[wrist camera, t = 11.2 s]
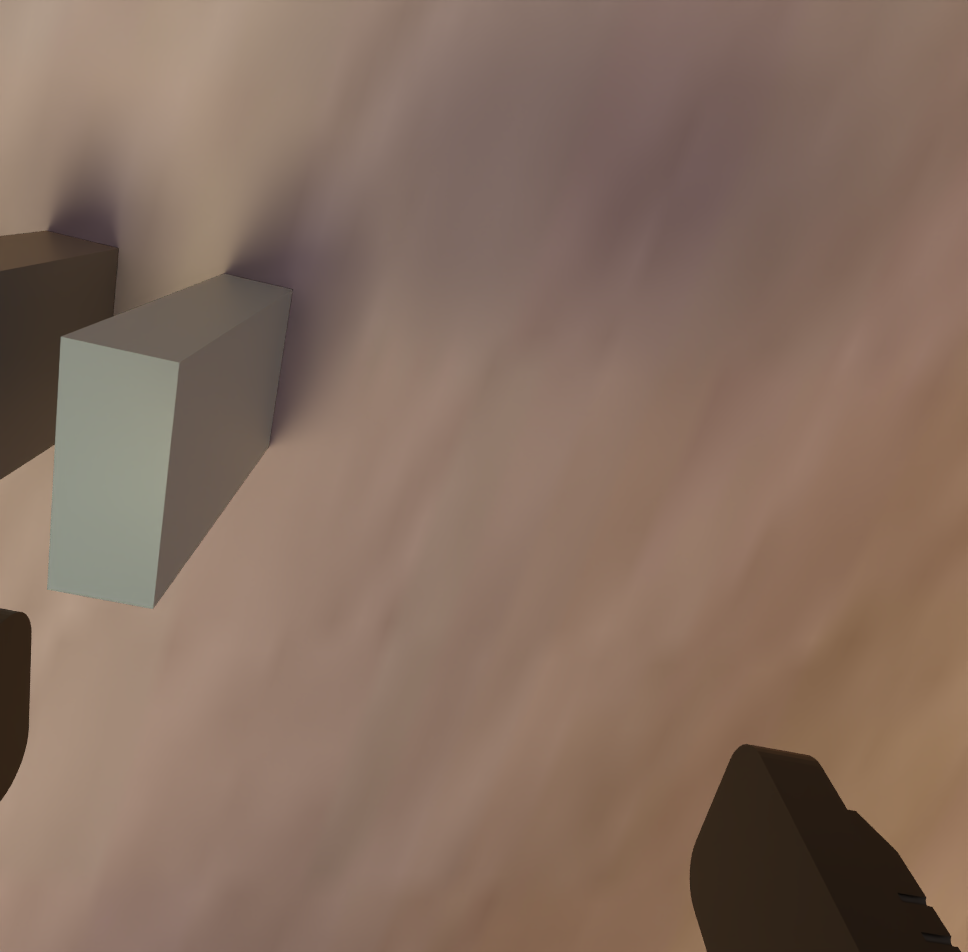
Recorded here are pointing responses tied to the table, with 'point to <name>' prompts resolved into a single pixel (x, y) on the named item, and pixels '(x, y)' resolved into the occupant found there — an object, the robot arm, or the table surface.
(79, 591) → the domino
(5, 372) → the domino
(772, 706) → the table surface
